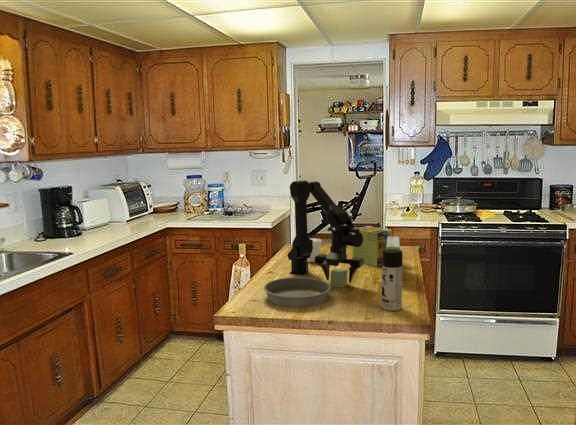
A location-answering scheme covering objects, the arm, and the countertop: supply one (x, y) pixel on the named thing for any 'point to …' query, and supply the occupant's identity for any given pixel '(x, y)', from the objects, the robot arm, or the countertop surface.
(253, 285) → the countertop surface
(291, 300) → the cake pan
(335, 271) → the olive block
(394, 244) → the snack box
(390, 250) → the spray can
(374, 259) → the protein box
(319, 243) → the white cup
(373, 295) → the countertop surface
